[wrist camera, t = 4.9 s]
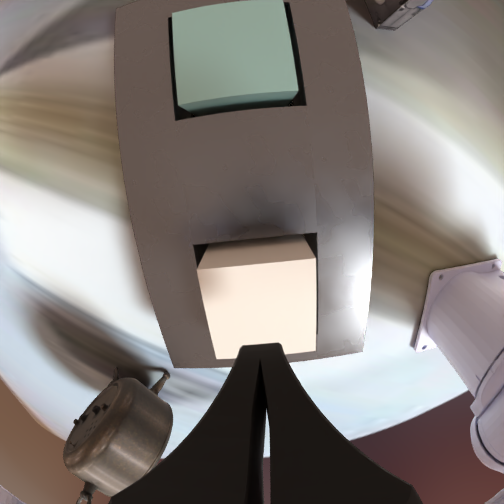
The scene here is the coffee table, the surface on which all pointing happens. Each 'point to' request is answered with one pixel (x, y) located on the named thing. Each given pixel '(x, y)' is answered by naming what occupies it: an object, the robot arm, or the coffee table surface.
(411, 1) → the mini dv tape
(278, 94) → the teal key
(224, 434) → the robot arm
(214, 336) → the white key
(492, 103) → the coffee table surface
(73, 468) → the alarm clock
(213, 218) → the key housing
